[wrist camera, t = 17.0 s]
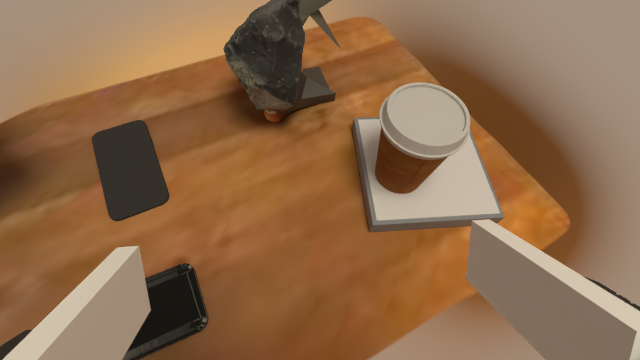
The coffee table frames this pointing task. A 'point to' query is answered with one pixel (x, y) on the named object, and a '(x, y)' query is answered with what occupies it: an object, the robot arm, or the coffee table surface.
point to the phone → (129, 170)
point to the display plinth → (425, 188)
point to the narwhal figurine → (278, 58)
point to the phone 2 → (170, 311)
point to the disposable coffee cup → (418, 134)
